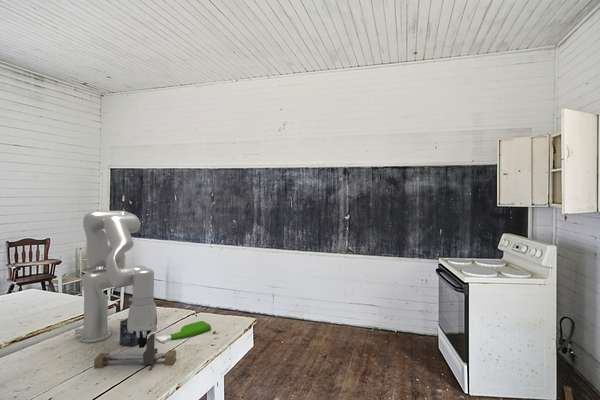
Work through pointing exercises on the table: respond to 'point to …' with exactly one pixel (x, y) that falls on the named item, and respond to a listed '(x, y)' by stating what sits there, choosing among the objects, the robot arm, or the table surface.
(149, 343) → the collar
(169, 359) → the rod with tan block
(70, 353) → the table surface
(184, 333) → the spray bottle
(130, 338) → the box
